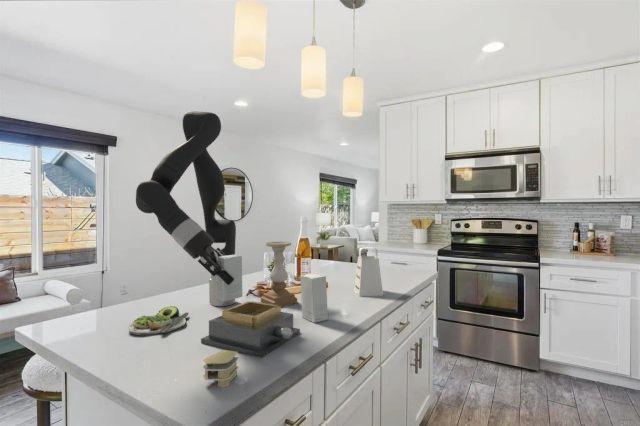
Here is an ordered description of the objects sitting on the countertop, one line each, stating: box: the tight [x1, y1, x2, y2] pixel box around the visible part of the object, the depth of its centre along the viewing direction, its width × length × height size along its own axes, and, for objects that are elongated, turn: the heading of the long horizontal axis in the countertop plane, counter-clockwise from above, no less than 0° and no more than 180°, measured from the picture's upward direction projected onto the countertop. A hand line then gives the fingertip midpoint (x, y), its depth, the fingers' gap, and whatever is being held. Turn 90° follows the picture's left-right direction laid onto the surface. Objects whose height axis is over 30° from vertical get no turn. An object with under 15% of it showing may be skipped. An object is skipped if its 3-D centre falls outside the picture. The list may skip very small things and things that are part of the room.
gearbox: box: [200, 300, 301, 359], centre depth 97 cm, size 24×19×8 cm
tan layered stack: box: [202, 349, 239, 388], centre depth 74 cm, size 10×9×6 cm
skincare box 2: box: [299, 273, 329, 324], centre depth 115 cm, size 8×6×15 cm
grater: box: [353, 246, 384, 297], centre depth 149 cm, size 10×10×20 cm
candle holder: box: [260, 241, 298, 307], centre depth 135 cm, size 11×11×24 cm
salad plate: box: [128, 305, 189, 337], centre depth 108 cm, size 19×18×5 cm
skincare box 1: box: [216, 254, 243, 301], centre depth 95 cm, size 6×4×12 cm
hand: (234, 279), depth 95 cm, fingers closed on skincare box 1, 7 cm apart
